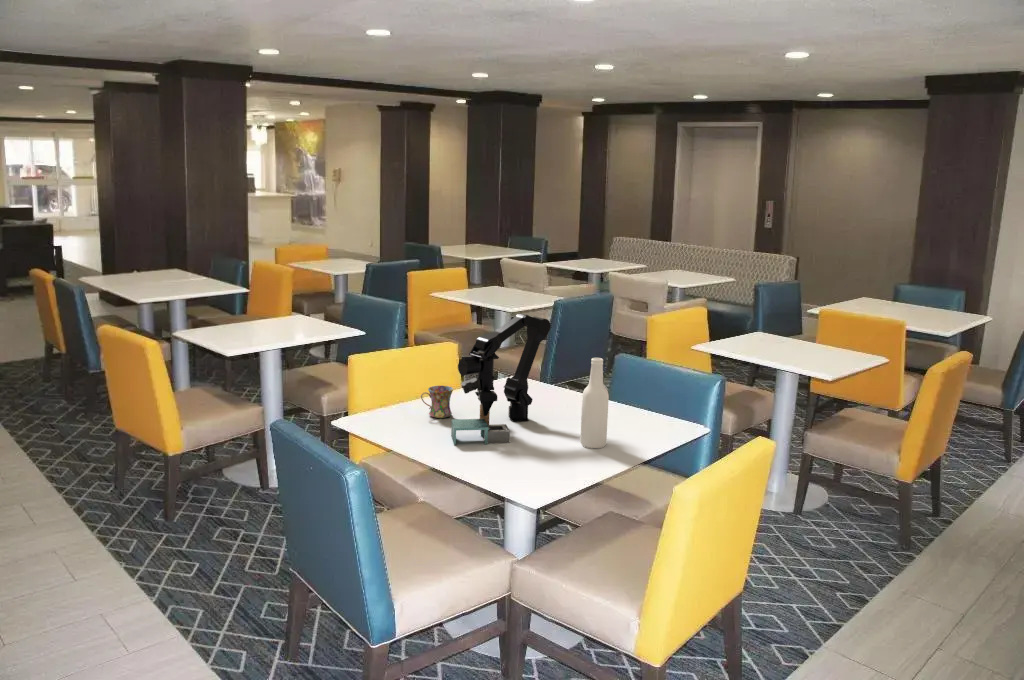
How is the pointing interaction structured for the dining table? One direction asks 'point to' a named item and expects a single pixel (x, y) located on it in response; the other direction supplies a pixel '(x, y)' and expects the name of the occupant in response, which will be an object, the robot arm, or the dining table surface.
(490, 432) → the station
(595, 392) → the alcohol
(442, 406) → the mug
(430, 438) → the dining table surface
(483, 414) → the peg
